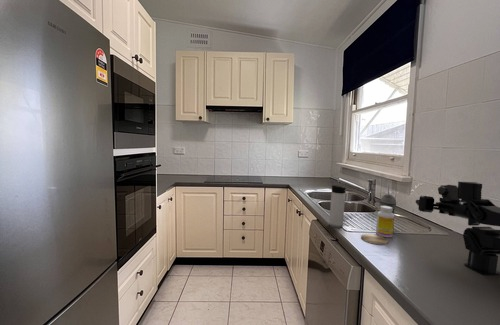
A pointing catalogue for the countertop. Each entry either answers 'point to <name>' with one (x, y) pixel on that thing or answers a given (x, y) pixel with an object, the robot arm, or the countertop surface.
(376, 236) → the coaster
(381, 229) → the supplement bottle
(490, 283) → the countertop surface
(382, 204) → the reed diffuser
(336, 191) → the travel mug
